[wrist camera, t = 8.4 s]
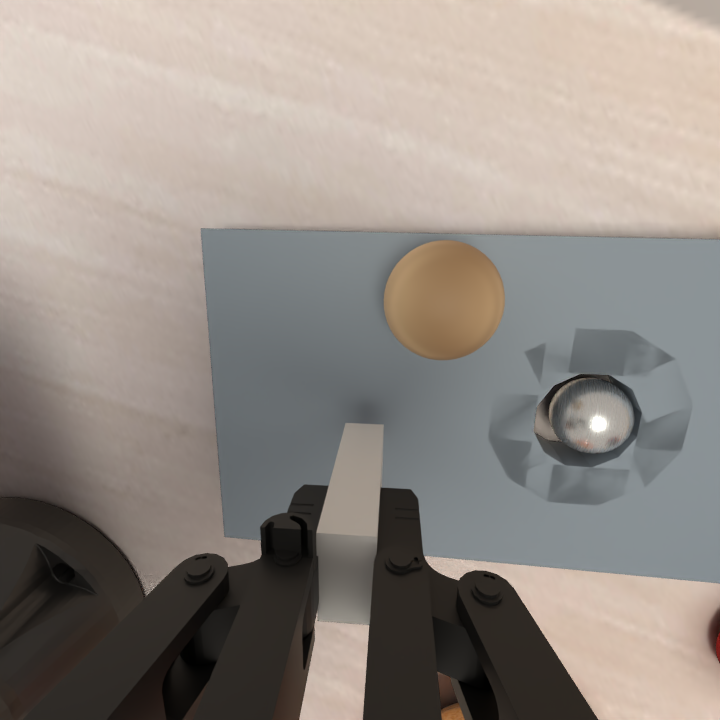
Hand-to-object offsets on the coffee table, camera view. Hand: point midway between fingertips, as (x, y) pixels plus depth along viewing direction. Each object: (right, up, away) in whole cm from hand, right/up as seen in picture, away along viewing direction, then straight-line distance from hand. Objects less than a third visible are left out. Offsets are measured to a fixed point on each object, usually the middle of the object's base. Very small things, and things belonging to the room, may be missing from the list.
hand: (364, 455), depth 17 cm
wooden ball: (+3, +6, -1) cm, 7 cm away
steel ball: (+11, +1, +3) cm, 11 cm away
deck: (+5, +2, +5) cm, 8 cm away
